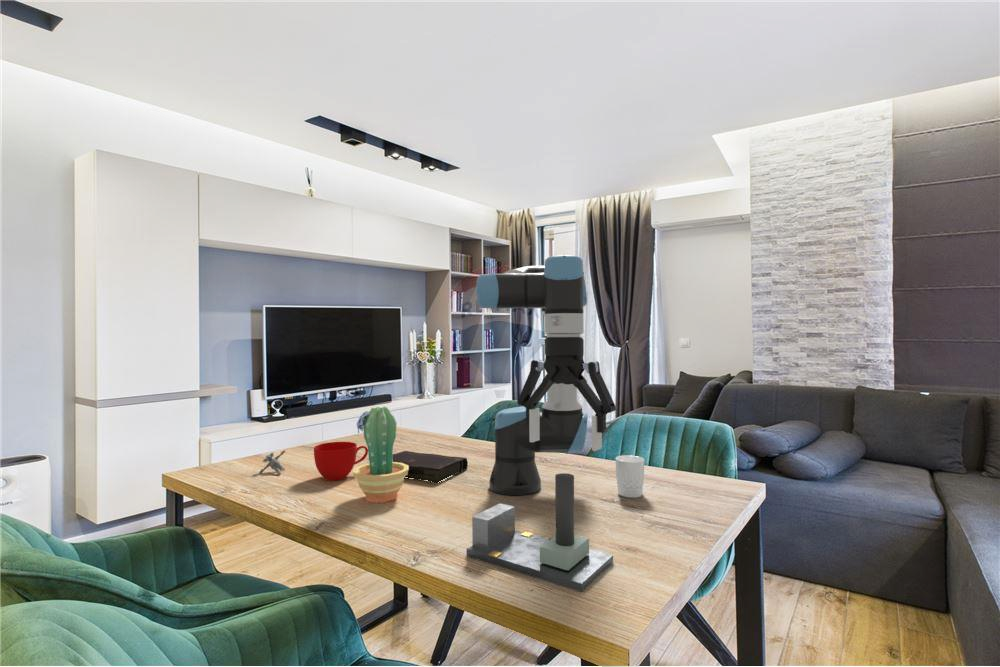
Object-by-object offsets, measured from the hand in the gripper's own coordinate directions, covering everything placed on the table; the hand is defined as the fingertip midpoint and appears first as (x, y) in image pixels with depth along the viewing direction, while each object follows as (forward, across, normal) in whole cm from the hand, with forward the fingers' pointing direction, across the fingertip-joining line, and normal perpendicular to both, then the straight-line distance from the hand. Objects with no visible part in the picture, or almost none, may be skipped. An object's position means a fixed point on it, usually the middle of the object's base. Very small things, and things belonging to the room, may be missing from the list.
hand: (564, 445), depth 101 cm
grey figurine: (+24, -111, +8) cm, 114 cm away
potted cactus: (+24, -62, +9) cm, 67 cm away
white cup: (+24, -6, +50) cm, 56 cm away
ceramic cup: (+24, -88, +16) cm, 93 cm away
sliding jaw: (+22, 0, 0) cm, 22 cm away
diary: (+24, -71, +34) cm, 82 cm away
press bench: (+24, -6, 0) cm, 25 cm away
